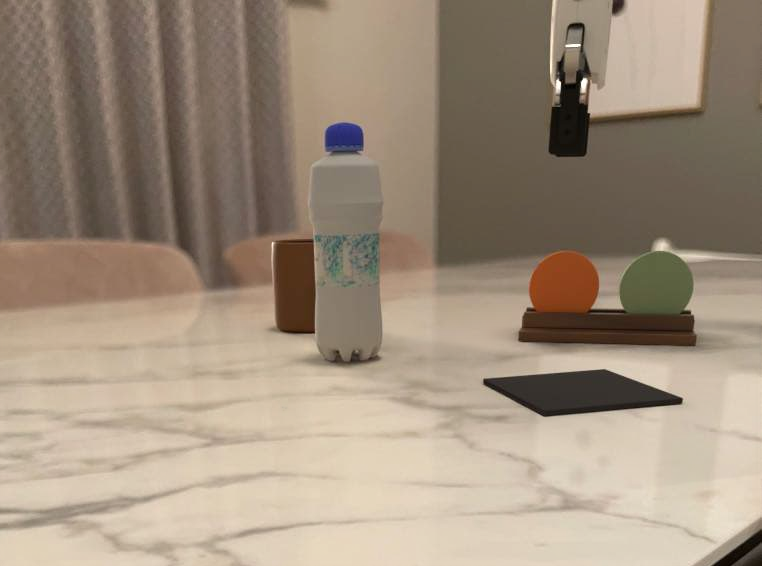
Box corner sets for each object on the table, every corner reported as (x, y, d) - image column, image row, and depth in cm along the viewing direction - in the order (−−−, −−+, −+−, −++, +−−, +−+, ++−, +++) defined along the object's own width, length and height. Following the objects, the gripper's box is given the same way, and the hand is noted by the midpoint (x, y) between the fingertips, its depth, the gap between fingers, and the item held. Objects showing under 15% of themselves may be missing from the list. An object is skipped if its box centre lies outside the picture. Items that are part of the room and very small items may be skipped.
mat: (604, 373, 71) (604, 368, 71) (682, 403, 61) (683, 398, 61) (482, 383, 69) (482, 378, 69) (544, 416, 59) (544, 410, 59)
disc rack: (525, 327, 94) (526, 304, 93) (687, 330, 90) (690, 306, 89) (518, 341, 86) (519, 316, 85) (695, 345, 82) (699, 319, 81)
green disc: (615, 321, 88) (622, 250, 85) (687, 322, 86) (696, 250, 84) (616, 323, 87) (623, 251, 84) (688, 325, 85) (698, 251, 82)
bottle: (319, 351, 83) (310, 125, 76) (387, 350, 83) (385, 123, 75) (308, 364, 77) (298, 120, 69) (382, 364, 76) (379, 118, 69)
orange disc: (528, 319, 90) (532, 250, 87) (596, 321, 88) (602, 250, 86) (526, 322, 89) (530, 251, 86) (595, 323, 87) (602, 251, 84)
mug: (383, 323, 99) (383, 237, 95) (374, 333, 92) (373, 242, 88) (284, 322, 101) (279, 238, 97) (267, 333, 94) (262, 243, 90)
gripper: (631, -83, 68) (607, 152, 74) (627, -35, 83) (607, 157, 90) (535, -75, 69) (521, 153, 76) (549, -29, 85) (536, 158, 91)
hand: (568, 155), depth 83 cm, fingers open, 9 cm apart
